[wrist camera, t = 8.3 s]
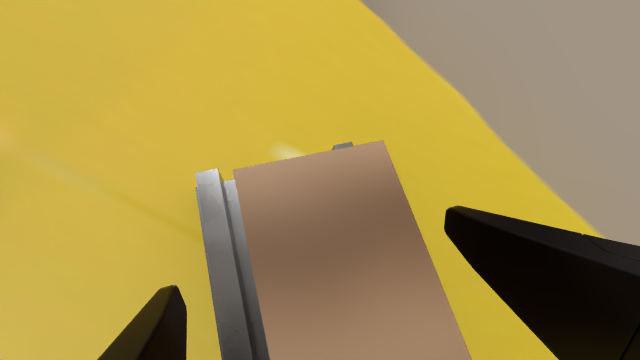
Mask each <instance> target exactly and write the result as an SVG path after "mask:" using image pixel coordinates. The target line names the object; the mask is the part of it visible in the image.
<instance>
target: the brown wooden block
mask: <svg viewBox="0 0 640 360" xmlns="http://www.w3.org/2000/svg"><path fill="white" fill-rule="evenodd" d="M233 174H234V179H235V184H236V189H237V194H238V199H239V204H240V209H241V214H242V220H243V225H244V230H245V235H246V240H247V245H248V250H249V255H250V260H251V265H252V271H253V276H254V281H255V286H256V291H257V296H258V301H259V306H260V311H261V316H262V322H263V327H264V332H265V337H266V342H267V347H268V352H269V357H270V360H472V359H471V356H470V354H469V351H468V349H467V346H466V344H465V341H464V339H463V336H462V334H461V332H460V329H459V327H458V324H457V322H456V319H455V317H454V314H453V312H452V309H451V307H450V304H449V302H448V299H447V297H446V294H445V292H444V289H443V287H442V285H441V282H440V280H439V277H438V275H437V272H436V270H435V267H434V265H433V262H432V260H431V257H430V255H429V252H428V250H427V247H426V245H425V242H424V240H423V237H422V235H421V233H420V230H419V228H418V225H417V223H416V220H415V218H414V215H413V213H412V210H411V208H410V205H409V203H408V200H407V198H406V195H405V193H404V190H403V188H402V186H401V183H400V181H399V178H398V176H397V173H396V171H395V168H394V166H393V163H392V161H391V158H390V156H389V153H388V151H387V148H386V146H385V143H384V141H383V140H382V141H377V142H372V143H367V144H362V145H357V146H352V147H347V148H342V149H336V150H331V151H326V152H321V153H316V154H311V155H306V156H301V157H296V158H291V159H285V160H280V161H275V162H270V163H265V164H260V165H255V166H250V167H245V168H240V169H234V170H233Z"/></svg>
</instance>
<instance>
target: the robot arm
mask: <svg viewBox="0 0 640 360" xmlns="http://www.w3.org/2000/svg"><path fill="white" fill-rule="evenodd" d="M444 230H445V233H446V234H447V236H448V237H449V238H450V240H451V241H452V242H453V243H454V245H455V246H456V247H457V249H458V250H459V251H460V252H461V254H462V255H463V256H464V258H465V259H466V260H467V261H468V263H469V264H470V265H471V266H472V268H473V269H474V270H475V271H476V272H477V273H478V274H479V275H480V276H481V278H482V279H483V280H484V281H485V282H486V283H487V284H488V285H489V286H490V287H491V288H492V289H493V290H494V291H495V292H496V293H497V295H498V296H499V297H500V298H501V299H502V300H503V301H504V302H505V303H506V304H507V305H508V306H509V307H510V308H511V309H512V310H513V312H514V313H515V314H516V315H517V316H518V317H519V318H520V319H521V320H522V321H523V322H524V323H525V324H526V325H527V326H528V327H529V329H530V330H531V331H532V332H533V333H534V334H535V335H536V336H537V337H538V338H539V339H540V340H541V341H542V342H543V343H544V345H545V346H546V347H547V348H548V349H549V350H550V351H551V352H552V353H553V354H554V355H555V356H556V357H557V358H558V359H559V360H640V246H637V245H632V244H627V243H622V242H617V241H612V240H608V239H603V238H599V237H594V236H590V235H586V234H583V235H582V234H581V233H577V232H572V231H568V230H563V229H559V228H555V227H550V226H546V225H542V224H537V223H533V222H528V221H524V220H520V219H515V218H511V217H507V216H502V215H498V214H493V213H489V212H485V211H480V210H476V209H472V208H467V207H463V206H454V207H450V208H448V209H447V210H446V214H445V224H444ZM186 339H187V310H186V305H185V303H184V300H183V298H182V296H181V293H180V291H179V288H178V287H177V286H176V285H171V286H167V287H164V288H161V289H159V290H158V291H157V292H156V293H155V295H154V296H153V297H152V298H151V299H150V300H149V301H148V303H147V304H146V305H145V306H144V307H143V308H142V309H141V311H140V312H139V313H138V314H137V315H136V316H135V317H134V319H133V320H132V321H131V322H130V323H129V324H128V325H127V326H126V328H125V329H124V330H123V331H122V332H121V333H120V334H119V336H118V337H117V338H116V339H115V340H114V341H113V342H112V344H111V345H110V346H109V347H108V348H107V349H106V350H105V352H104V353H103V354H102V355H101V356H100V357H99V358H98V359H97V360H186Z"/></svg>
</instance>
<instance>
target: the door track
mask: <svg viewBox="0 0 640 360" xmlns="http://www.w3.org/2000/svg"><path fill="white" fill-rule="evenodd" d="M352 146H353V144H352V142H349V143H344V144H339V145H334V146H333V149H332V150H336V149H342V148H347V147H352ZM195 174H196V180H197V187H196V194H197V200H198V207H199V213H200V220H201V226H202V233H203V239H204V246H205V252H206V259H207V266H208V272H209V279H210V285H211V292H212V298H213V305H214V311H215V318H216V324H217V331H218V337H219V344H220V351H221V357H222V360H270V357H269V352H268V347H267V342H266V337H265V332H264V327H263V322H262V316H261V311H260V306H259V301H258V296H257V291H256V286H255V281H254V276H253V271H252V265H251V260H250V255H249V250H248V245H247V240H246V235H245V230H244V225H243V220H242V214H241V209H240V204H239V199H238V194H237V189H236V184H235V179H233V180H228V181H223V179H222V177H221V174H220V172H219V170H218V169H213V170H208V171H203V172H198V173H195Z"/></svg>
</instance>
